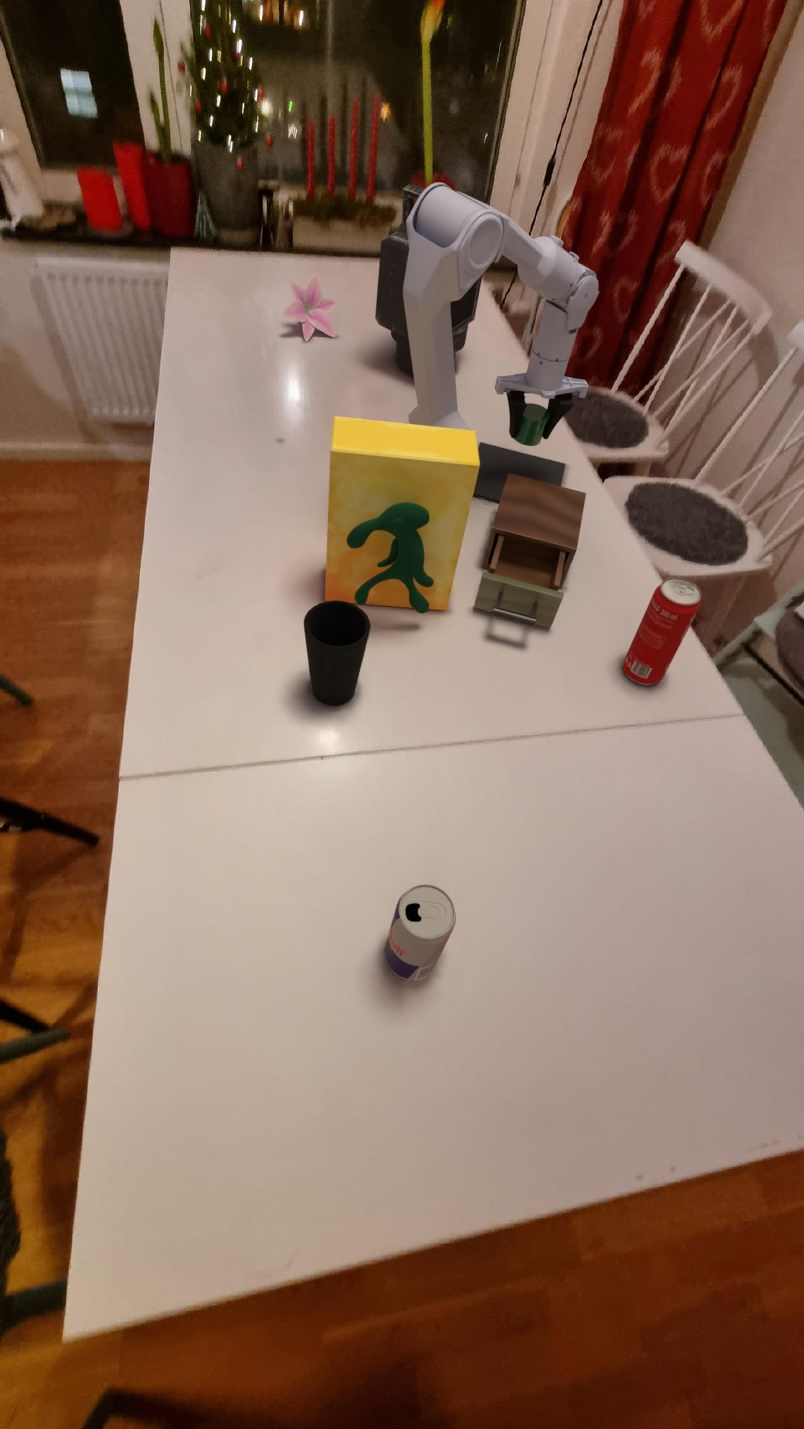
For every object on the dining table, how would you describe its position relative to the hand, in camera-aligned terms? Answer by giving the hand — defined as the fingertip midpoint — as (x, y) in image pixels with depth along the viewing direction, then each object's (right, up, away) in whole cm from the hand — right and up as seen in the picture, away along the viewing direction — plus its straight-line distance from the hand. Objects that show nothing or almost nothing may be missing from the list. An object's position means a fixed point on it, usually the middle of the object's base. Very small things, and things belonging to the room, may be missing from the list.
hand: (528, 435), depth 115 cm
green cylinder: (0, 0, +1) cm, 1 cm away
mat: (-1, -5, +7) cm, 9 cm away
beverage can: (+12, -40, -18) cm, 46 cm away
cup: (-30, -43, -26) cm, 58 cm away
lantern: (-17, +25, +28) cm, 41 cm away
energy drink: (-20, -71, -45) cm, 86 cm away
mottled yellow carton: (-23, -30, -15) cm, 41 cm away
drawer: (-4, -29, -13) cm, 32 cm away
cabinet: (-1, -20, -4) cm, 20 cm away
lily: (-40, +34, +31) cm, 61 cm away
